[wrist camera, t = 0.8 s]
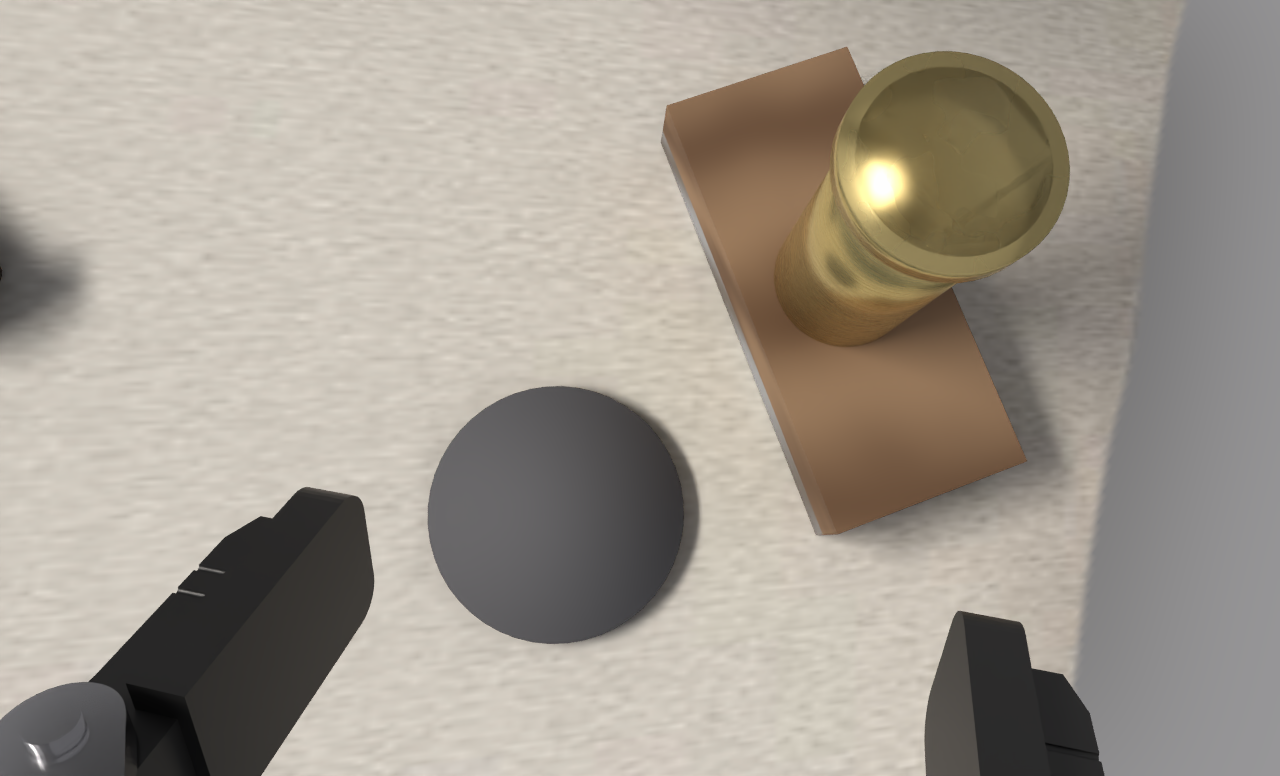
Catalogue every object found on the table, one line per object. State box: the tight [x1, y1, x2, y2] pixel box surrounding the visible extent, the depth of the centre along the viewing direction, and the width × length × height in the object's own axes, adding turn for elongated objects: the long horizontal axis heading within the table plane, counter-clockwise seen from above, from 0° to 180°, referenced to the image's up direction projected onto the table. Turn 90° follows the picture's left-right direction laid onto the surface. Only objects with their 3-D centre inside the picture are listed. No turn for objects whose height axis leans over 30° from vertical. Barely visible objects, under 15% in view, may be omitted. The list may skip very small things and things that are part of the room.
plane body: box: [661, 47, 1027, 535], centre depth 33 cm, size 16×7×3 cm, turn 20°
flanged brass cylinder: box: [774, 51, 1070, 347], centre depth 27 cm, size 6×6×10 cm
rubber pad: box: [428, 386, 684, 644], centre depth 32 cm, size 9×9×1 cm
